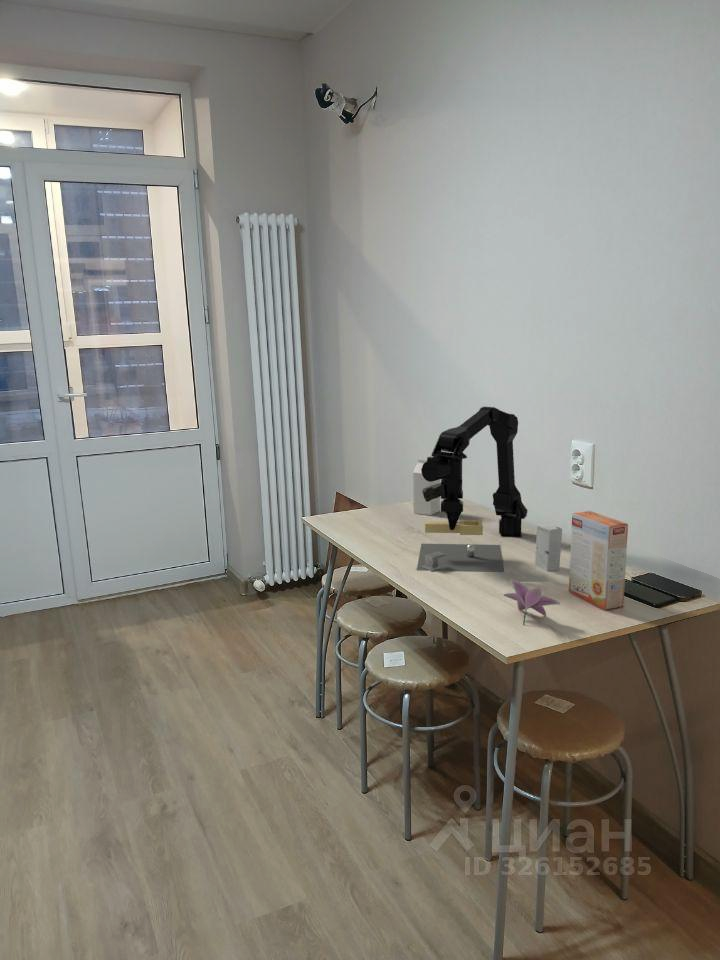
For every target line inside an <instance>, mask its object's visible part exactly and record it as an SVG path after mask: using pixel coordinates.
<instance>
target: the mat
mask: <svg viewBox="0 0 720 960" xmlns="http://www.w3.org/2000/svg"><path fill="white" fill-rule="evenodd" d="M469 544H470V543H467V544H465V543H463V544H462V543H420V550H419V554H418V555H419V556H418V561H417V568H416V571H422V572H423V571H427V572H428V571H429V570H426V569H423V568H421V567H422V566H425V555H427V554H430V553H434V552H440V553H443V554H445V556H443V557H440V558H438V567H439V568H440V569H439V570H436V571H435V572H474V573H475V572H476V573H477V572H478V573H479V572H480V573H481V572H482V573H483V572H485V573H505V565H504V560H503V554H502V548H501V545H500V544H480V543H479V544H473V543H471V544H472V545H474V557H473V558H469V557H467V545H469ZM429 572H430V571H429Z"/></svg>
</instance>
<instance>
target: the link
mask: <svg viewBox="0 0 720 960" xmlns="http://www.w3.org/2000/svg"><path fill="white" fill-rule="evenodd" d="M483 528H484V526H483V520H480V519H478V520H477V519H474V520H473V519H459V521H457V524H456V526H455V529H454V530H450V527H449V522H448V520H447V521H442V520H441V521H440V520H438V521H434V520H430V521H429V520H427V521H425V524H424V533H426V534H430V533H431V534H459V536H483V531H484V530H483Z"/></svg>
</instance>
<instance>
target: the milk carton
mask: <svg viewBox="0 0 720 960" xmlns="http://www.w3.org/2000/svg"><path fill="white" fill-rule="evenodd" d="M425 462H427V459H426V460H424V459H417V463H416V465H415V467H414V470H413V471H412V485H413V486H412V490H413V491H412V492H413V493H412V498H413V500H412V501H413V503H412V507H413V510H412V511H413V514H419V515H426V516H433V515H434V514H436V513H438V512H441V496H440V497H438V498H435V499H432V500H431V501H429V502H426V501H425V498H424V495H423V493H422V490H423V489H424V488H426V487H429V486H432V485H435V484H439V483H441V479H440V480H436V481H432V482H429V481H426V480H425V479H424V477H423V476H422V472H421V468H422V466H423V464H424V463H425Z"/></svg>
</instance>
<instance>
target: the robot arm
mask: <svg viewBox="0 0 720 960" xmlns="http://www.w3.org/2000/svg"><path fill="white" fill-rule="evenodd" d="M487 426H489V431H490V436H492V438H493V439H494V441H495V443H496V456H497V457H496V458H497V474H498V475H497V477H498V486H497V487H498V488H497V489H496V490H495V492H493V493H492V499H493V501H492V505H493V508H494V511H495V515H496V516H500V518H499V519H498V534H499V535H500V537H502V538H523V534H522V520H525V518H526V517H527V516H528V508H527V507H526V506H525V505H524V503H523V501H522V496H521V495H522V494H521V492H520V491H519V490H518V488H517V486H516V479H515V478H516V477H515V462H514V459H515V458H514V443H513V442H514V440H515V438H516V436H517V434H518V431H519V429H518V428H519V420H518V416H516V415H515V414H513V413H507V412H505V411H503V410H500V409H498V408H496V407H495V406H482V407H480V408H479V410H478V411H477V412H476V413H474V414H473V415H472V416H471V417H469V418H468V419H467V420H465V421H464V422H463V423H461V424H460V425H459V426H456V427H452V428H448V429H446V430H444V431H442V432H441V433H440V434H439V435H438V438H437V441H436V443H435V446H434V448H433V450H432V451H431V452H432V453H431V454H430V456H427V457H426V460H427V462H425V463H424V464H423V466H422V468H421V472H422V476H423V477H424V479H425V480H426V481H429V482H432V481H436V480H440V483H439V484H435V485H432V486H429V487H426V488H424V489H423V490H422V493H423V495H424V498H425V501H426V502H429V501H431V500H432V499H435V498H438V497H440V500H441V501H440V512H441V513H445V514H446V516H447V521H448V522H449V527H450V530H454V529H455V526H456V524H457V522H459V520H460V517H461V515H462V513H463V512H464V501H463V500H462V499H464V490H463V460H464V459H467V458H468V455H466V454H465V453H464V451H466V449H467V448H468V447H469V446H470V441H471V439H472V438H473V437H475V435H477V434H478V433H480V432H481V431H482V430H483V429H484V428H486V427H487Z"/></svg>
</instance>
